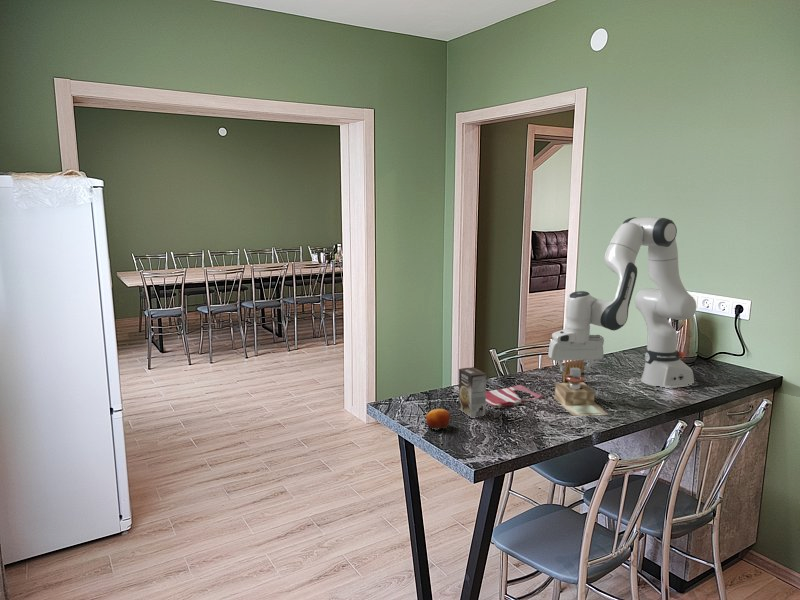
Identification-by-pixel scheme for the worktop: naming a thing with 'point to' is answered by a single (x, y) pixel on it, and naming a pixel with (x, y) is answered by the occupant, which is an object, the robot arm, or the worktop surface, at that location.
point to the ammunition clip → (572, 365)
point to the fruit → (438, 418)
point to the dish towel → (508, 397)
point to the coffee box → (472, 391)
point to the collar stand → (577, 400)
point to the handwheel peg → (575, 378)
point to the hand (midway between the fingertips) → (575, 370)
